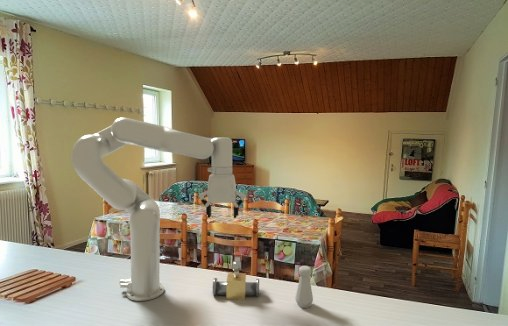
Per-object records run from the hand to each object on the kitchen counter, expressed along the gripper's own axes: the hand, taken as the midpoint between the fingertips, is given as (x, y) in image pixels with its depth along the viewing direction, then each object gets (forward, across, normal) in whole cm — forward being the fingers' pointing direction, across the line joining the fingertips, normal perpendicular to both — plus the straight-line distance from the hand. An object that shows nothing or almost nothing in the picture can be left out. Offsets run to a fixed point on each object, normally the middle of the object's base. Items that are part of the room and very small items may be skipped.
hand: (222, 217), depth 118 cm
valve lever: (+17, +6, -3) cm, 18 cm away
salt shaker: (+26, +29, -12) cm, 41 cm away
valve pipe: (+26, +6, -8) cm, 28 cm away
